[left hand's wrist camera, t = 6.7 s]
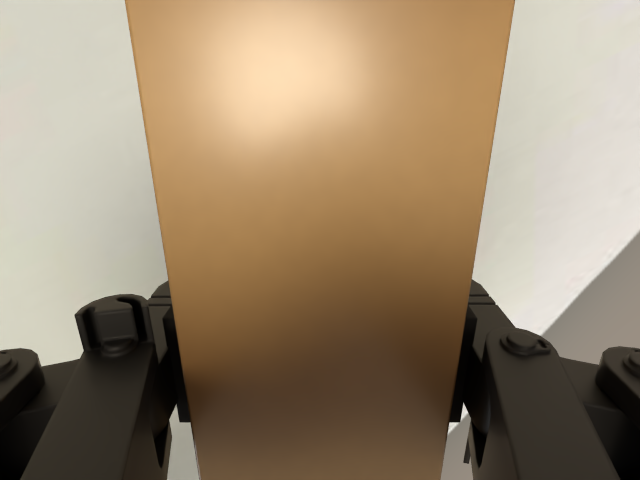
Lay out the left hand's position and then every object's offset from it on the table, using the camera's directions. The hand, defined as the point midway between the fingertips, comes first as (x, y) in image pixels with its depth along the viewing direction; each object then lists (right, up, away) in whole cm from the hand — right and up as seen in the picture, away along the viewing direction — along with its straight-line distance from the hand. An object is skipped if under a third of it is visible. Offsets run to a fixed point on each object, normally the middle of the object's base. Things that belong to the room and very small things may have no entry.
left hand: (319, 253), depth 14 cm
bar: (0, +8, -3) cm, 8 cm away
